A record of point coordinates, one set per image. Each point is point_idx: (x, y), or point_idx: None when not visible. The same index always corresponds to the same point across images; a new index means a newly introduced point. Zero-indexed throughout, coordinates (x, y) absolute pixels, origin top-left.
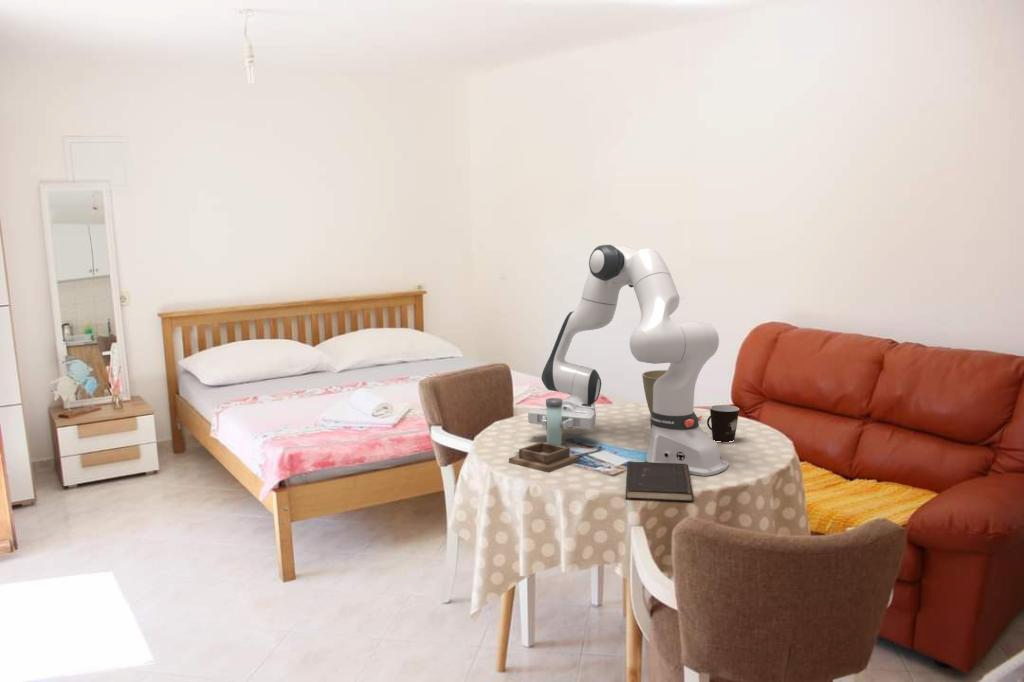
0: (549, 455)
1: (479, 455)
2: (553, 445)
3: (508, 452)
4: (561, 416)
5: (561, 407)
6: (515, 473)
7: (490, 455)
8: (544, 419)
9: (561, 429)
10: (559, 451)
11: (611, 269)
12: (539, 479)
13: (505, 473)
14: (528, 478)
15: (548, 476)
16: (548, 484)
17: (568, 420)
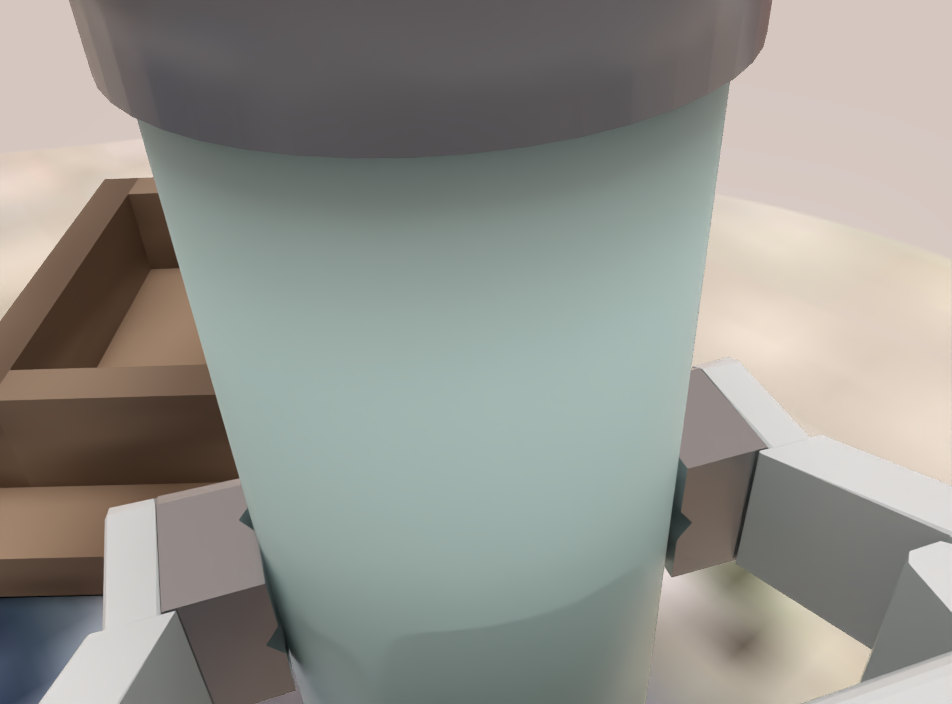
0: (94, 196)
1: (850, 229)
2: (197, 370)
3: (778, 379)
4: (230, 438)
5: (145, 146)
6: None
7: (793, 264)
8: (733, 408)
9: (304, 698)
10: (33, 281)
11: None
12: (104, 174)
13: None
14: None
15: (65, 218)
16: (13, 159)
17: (55, 689)
